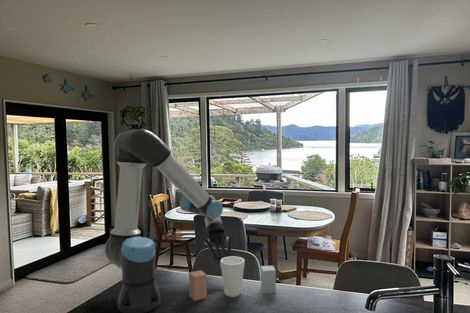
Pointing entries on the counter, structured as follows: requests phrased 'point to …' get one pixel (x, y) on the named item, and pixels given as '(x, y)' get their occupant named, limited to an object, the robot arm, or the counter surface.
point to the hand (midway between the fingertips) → (226, 275)
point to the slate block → (268, 279)
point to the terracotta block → (197, 285)
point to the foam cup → (232, 274)
